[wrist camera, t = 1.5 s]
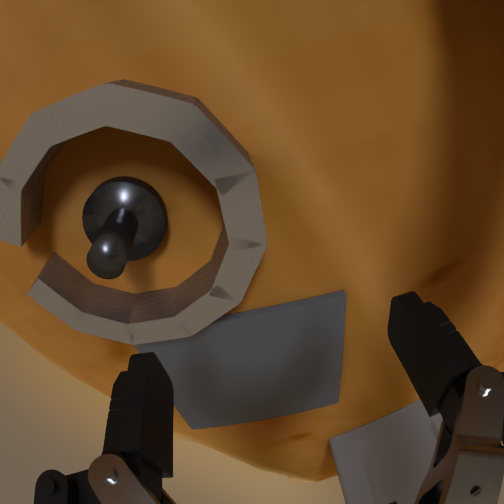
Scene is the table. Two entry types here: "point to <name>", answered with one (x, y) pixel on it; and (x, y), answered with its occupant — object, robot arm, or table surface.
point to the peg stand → (122, 224)
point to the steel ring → (198, 153)
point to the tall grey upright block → (387, 456)
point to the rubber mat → (258, 363)
